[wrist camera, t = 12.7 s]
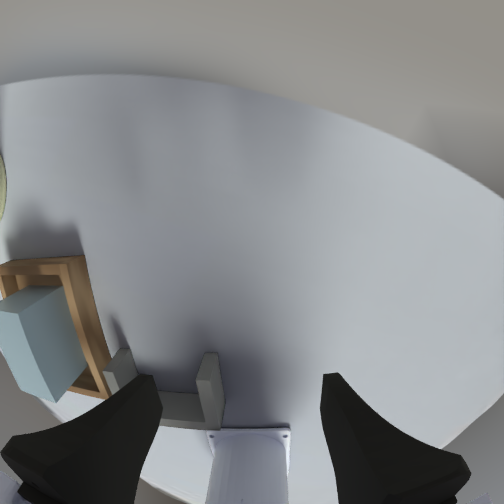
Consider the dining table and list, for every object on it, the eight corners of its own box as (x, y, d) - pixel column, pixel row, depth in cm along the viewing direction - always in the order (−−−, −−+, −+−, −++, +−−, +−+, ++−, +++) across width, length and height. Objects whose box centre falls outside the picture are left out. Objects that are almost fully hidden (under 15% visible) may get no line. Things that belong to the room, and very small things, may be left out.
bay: (225, 402, 22) (220, 430, 19) (136, 395, 23) (123, 419, 19) (217, 352, 21) (209, 380, 17) (120, 348, 21) (102, 370, 18)
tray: (120, 384, 22) (110, 400, 20) (46, 368, 23) (34, 380, 20) (84, 255, 19) (66, 263, 17) (11, 260, 20) (-5, 267, 18)
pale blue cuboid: (88, 365, 21) (56, 403, 16) (53, 358, 22) (21, 390, 16) (63, 285, 20) (17, 313, 14) (28, 285, 20) (-14, 308, 14)
